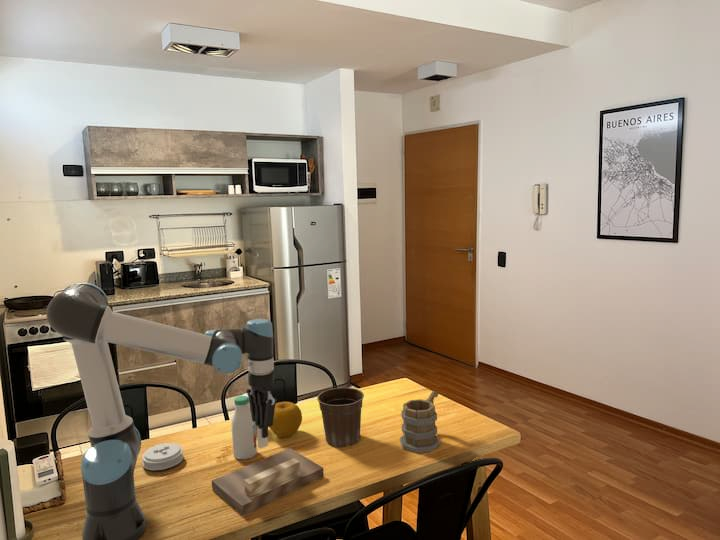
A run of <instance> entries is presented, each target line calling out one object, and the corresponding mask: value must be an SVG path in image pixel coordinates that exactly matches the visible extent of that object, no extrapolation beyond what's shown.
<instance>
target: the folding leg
mask: <svg viewBox="0 0 720 540" xmlns="http://www.w3.org/2000/svg"><path fill="white" fill-rule="evenodd" d="M298 475H300V462H299V461H298V460H296V459H294V458H293V459H291V460H289V461H286V462H284V463H282V464H279V465H277V466H275V467H272V468H270V469H268V470H266V471H263V472H261V473H259V474H256V475H254V476H252V477H249V478H247V479H245V480H244V486H245V493H246V494H247V495H248V496H249V497H252V496H254V495H257V494H259V493H261V492H263V491H265V490H267V489H269V488H272V487H274V486H276V485H278V484H280V483H282V482H285V481H287V480H289V479H291V478H293V477H295V476H298Z"/></svg>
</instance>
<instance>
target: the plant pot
mask: <svg viewBox="0 0 720 540" xmlns="http://www.w3.org/2000/svg"><path fill="white" fill-rule="evenodd" d="M364 397H365V394H364V392H363V391H361V390H360V389H357V388H353V387H336V388H330V389H327V390H324V391H322V392H320V393H319V394H318V395H317V402H318V405H319V409H320V412H321V418H322V422H323V432H324V437H325V441H326V442H327V444H328V445H329V446H333V447H337V448H342V447H347V446H348V445H350V446H353V445H355V444H357V443H358V442H359V441H360V439H361V424H362V423H361V421H362V418H361V417H362V408H363V399H364Z"/></svg>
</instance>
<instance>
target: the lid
mask: <svg viewBox="0 0 720 540" xmlns="http://www.w3.org/2000/svg"><path fill="white" fill-rule="evenodd" d="M183 449H184V448H183V446H182V445H179V444H177V443H173V442H165V443H158V444H155V445H153V446H151V447H149V448H147V450H146V451H145V452H143V453H142V455H141V459H142V460H141V461H142V467H143V468H144V469H146V470H147V471H148V470H149V471H163V470H167V469H169V468H172V467H175V466H177V465H179V464H180V463H181V462H182V461H183V460H184V453H183V451H184V450H183Z"/></svg>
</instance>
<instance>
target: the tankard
mask: <svg viewBox="0 0 720 540" xmlns="http://www.w3.org/2000/svg"><path fill="white" fill-rule="evenodd" d="M438 396H439V392H438V391H435V390H432V391H431V392H430V394H429V396H428V397H427V399H410V400H408V401H406V402H405V403H402V404H403V405H402V410H401V413H400V414H401V418H402V421H403V423H402V424H401V432H402V434H403V435H401V436H400V437H399V442H400V445H401V447H402V449H403V450H405V451H409V452H412V453H414V454H415V453H416V454H421V453H430V452H433V451H435V449H437V448H438V447H439V446H440V444H441V443H440V440H439V438H438V436H437V434H438V427H437V425H436V421H438V413H437V411H436V405H435V404H434V403H435V402H434V400H435V398H438Z"/></svg>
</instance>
